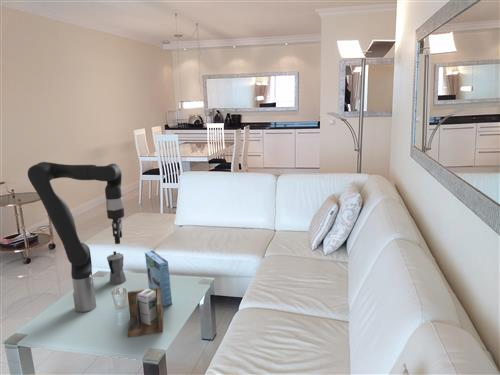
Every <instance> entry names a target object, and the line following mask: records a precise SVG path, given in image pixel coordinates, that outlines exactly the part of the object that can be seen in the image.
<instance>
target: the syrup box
mask: <svg viewBox="0 0 500 375" xmlns="http://www.w3.org/2000/svg"><path fill="white" fill-rule="evenodd" d="M143 290H144V291H142V292H141V293H139V294H138V301H139V309H140V317H141V323H144V324H147V325H151V324H153V323H154V322H155V321H157V320H158V312H157V299H156V291H154V290H151V289H149V288H145V289H143Z"/></svg>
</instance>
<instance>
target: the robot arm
mask: <svg viewBox="0 0 500 375" xmlns="http://www.w3.org/2000/svg"><path fill="white" fill-rule="evenodd" d="M27 178H28V180H29V182H30V183H31V185H32V187H33V188H34V191H35V192H36V194H37V195H38V197H39V199H40V200H41V203H42V205H43V206H44V209H45V211H46V213H47V215H48V217H49V219H50V222H51V224H52V226H53V227H54V230H55V232H56V233H57V235H58V237H59V239H60V241H61V243H62V246H63V248H64V251H65V254H66V258H67V260H68V261H69V263H70V264H71V265H70V266H71V270H70V271H71V272H70V275H71V280H72V288H73V293H72V296H73V303H74V309H75V310H74V311H75V312H77V313H78V312H79V313H87V312H90V311H93V310H94V309H95V308H96V307H97V299H96V293H95V287H94V285H95V284H94V279H93V277H94V276H93V265H92V264H93V263H92V255H91V249H90V247H89V246H88V245H87V243H84V242H81V240H80V238H79V236H78V233H77V227H76V222H75V219H74V216H73V214H72V212H71V210H70V207H69V205H68V204H67V203H66V201H64V200H63V199H62V198H61V197H60V195H58V194H57V193H56V192H55V190H54V188H53V186H52V183H51V181H52V180H55V179H62V178H65V179H67V178H68V179H71V180H77V181H101V182H106V185H105V188H104V192H105V208H106V215H107V216H106V217H107V219H108V220H112V221H111V227H112V230H111V231H112V236H113V237H114V245H120V244H121V238H122V237H123V233H122V229H123V224H122V223H123V222H122V218H124V217H125V207H124V200H123V195H122V188H121V187H122V178H123V176H122V169H121V167H120V166H119V164H116V163H109V164H108V165H97V164H62V163H55V162H48V161H41V162H38V163H36V164H33V165H31V166H30V167H29V168H28V169H27Z"/></svg>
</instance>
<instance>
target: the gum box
mask: <svg viewBox="0 0 500 375" xmlns="http://www.w3.org/2000/svg"><path fill="white" fill-rule="evenodd" d="M144 255H145V256H144V257H145V264H146V273H147V284H148V289H154V288H161V297H162V308H163V307H166V306H171V305H172V304H173V299H172V297H173V296H172V290H171V289H172V288H171V279H170V271H169V261H168V260H166V259H165V258H164V257H162V256H161V255H159V254H158V253H157V252H156V251H155V250H151V251H150V250H149V251H146V252H144Z"/></svg>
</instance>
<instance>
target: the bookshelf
mask: <svg viewBox="0 0 500 375" xmlns="http://www.w3.org/2000/svg"><path fill="white" fill-rule="evenodd" d="M144 290H145V289H139V290H138V289H137V290H133V291H132V290H131V291H127V301H128V309H129V310H128V311H129V319H128V320H129V321H128V327H127V333H126V334H127V338H131V337H140V336H145V335H152V334H159V333H164V310H163V306H162V297H161V288H154V289H151V290H154V291H156V299H157V312H158V320H157V321H155V322H154V323H153V324H151V325H147V324H144V323H141V317H140V309H139V301H138V294H139V293H141V292H142V291H144Z"/></svg>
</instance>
